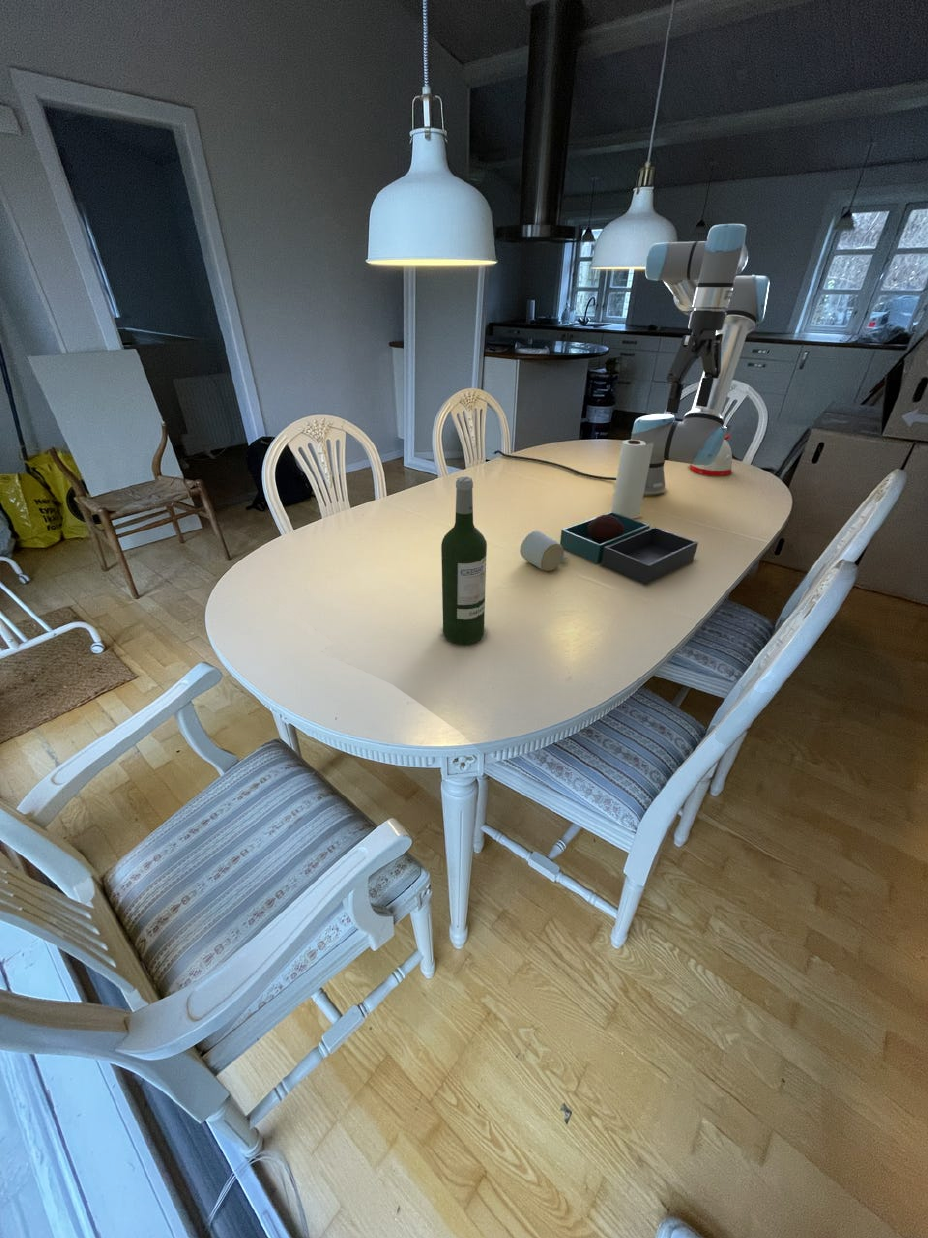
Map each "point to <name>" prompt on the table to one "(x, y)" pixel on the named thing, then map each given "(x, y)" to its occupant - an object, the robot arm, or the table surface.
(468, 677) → the table surface
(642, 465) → the paper towel roll
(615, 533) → the potato
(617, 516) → the left tote
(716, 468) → the kitchen timer
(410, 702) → the table surface
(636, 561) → the box
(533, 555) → the ceramic mug
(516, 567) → the table surface
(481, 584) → the wine bottle
